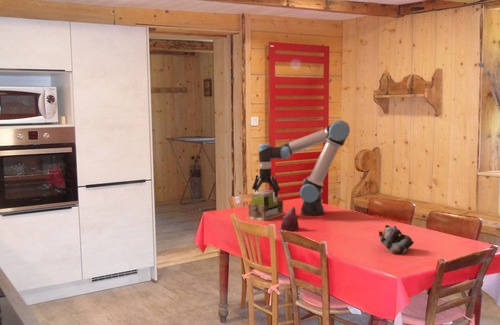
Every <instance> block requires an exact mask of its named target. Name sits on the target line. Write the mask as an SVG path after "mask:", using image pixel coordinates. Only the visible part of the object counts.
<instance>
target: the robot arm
mask: <svg viewBox="0 0 500 325" xmlns="http://www.w3.org/2000/svg"><path fill="white" fill-rule="evenodd" d="M350 130H351V128H350V125H349V123H348V122H346V121H345V120H336V121H333V123H331V125H330V124H329V125H327V126H325V128H324V129H321V130H318V131H316V132H313V133H311V134H308V135H305V136H303V137H300V138H297V139H295V140H292V141H289V142H287V143H284V144H281V145H280V146H271V144H270V143H260V144H259V145H258V163H259V164H258V167H259V174H258V175H257V174H256V175H255V180H254V182H253V185H252V188H251V189H252V190H254V193H255V192H259V191H260V187H261V186H262V184H264V183H265V184H268V185H269V186H270V187H271V189H272V190H273V191H274V192H273V202H277V196H278V192H280V191H281V188H280V186H279V183H278V182H277V179H276V178H277V176H276V175H273V176H272V160H273V159H274V160H277V159H278V160H279V159H282V160H283V159H284V160H286V159H287V160H288V159H290V156H291V155H292V154H296V153H298V152H301V151H303V150H307V149H309V148H311V147H315V146H317V145H319V144H322V143H325V144H324V146H323V148H322V150H321V153H320V154H319V155H318V158H317V161H316V163H315V165H314V166H313V169H312V171H311V174H310V175H308V176H307V177H306V178H303V181H302V186H301V187H300V189H299V195H300V198H301V200H302V201H303V203H302V205H301V208H300V214H301V215H304V216H311V217H312V216H313V217H315V216H322V215H324V214H325V209H324V205H323V202H322V190H323V187H324V183H323V182H324V180H325V178H326V176H327V174H328V171H329V169H330V167H331V165H332V163H333V161H334V159H335V157H336V155H337V153H338V151H339V148H342V147H343V146H344V144H345V142H346V140H347V138H348V137H349V135H350ZM278 197H279V196H278Z"/></svg>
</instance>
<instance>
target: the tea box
mask: <svg viewBox="0 0 500 325" xmlns="http://www.w3.org/2000/svg"><path fill="white" fill-rule="evenodd" d="M273 192H274V191H273V189H272V190H270V189H264V190H259V192H255V191H254V192H252V193H251V204H258V205H265V212H266V216H269V215H272V214H275V213H278V200H279V199H278V197H279V196H277V202H273Z"/></svg>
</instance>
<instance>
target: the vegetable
mask: <svg viewBox="0 0 500 325" xmlns="http://www.w3.org/2000/svg"><path fill="white" fill-rule="evenodd" d="M299 227H300V226H299V221H298V216H297V214H296V206H292V207H291V208H289V210H288V211H287V212H285V214H284V215H283V217H282V220H281V224H280V229H282V230H281V231H284V230H286V231H285V232H295V231H298V230H299Z"/></svg>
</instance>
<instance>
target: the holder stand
mask: <svg viewBox="0 0 500 325" xmlns="http://www.w3.org/2000/svg"><path fill="white" fill-rule="evenodd" d="M280 216H284V200H283V199H278V213H275V214H272V215H269V216H266V212H265V205H258V204H252V203H248V219H249V220H255V221H261V222H266V221H268V220H272V219H274V218H278V217H280Z"/></svg>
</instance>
